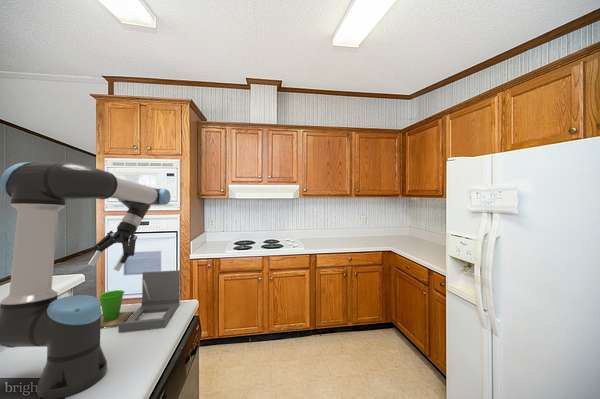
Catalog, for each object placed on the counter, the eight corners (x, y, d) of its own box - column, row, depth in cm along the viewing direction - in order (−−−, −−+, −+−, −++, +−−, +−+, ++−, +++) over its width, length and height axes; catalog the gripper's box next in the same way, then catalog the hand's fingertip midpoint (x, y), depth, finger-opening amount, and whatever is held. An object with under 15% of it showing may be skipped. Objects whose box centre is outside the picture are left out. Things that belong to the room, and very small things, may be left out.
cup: (113, 323, 105) (114, 297, 106) (92, 323, 105) (93, 297, 106) (128, 314, 114) (129, 290, 115) (109, 314, 114) (109, 290, 115)
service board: (133, 313, 118) (134, 311, 118) (120, 326, 105) (120, 324, 105) (102, 316, 115) (102, 313, 115) (84, 330, 102) (84, 327, 102)
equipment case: (179, 304, 128) (180, 270, 129) (164, 328, 104) (165, 285, 104) (143, 307, 125) (143, 272, 125) (118, 332, 100) (119, 288, 100)
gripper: (156, 230, 120) (132, 274, 109) (114, 225, 126) (88, 266, 115) (146, 223, 114) (120, 269, 103) (102, 217, 119) (73, 260, 108)
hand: (103, 267), depth 109 cm, fingers open, 13 cm apart
